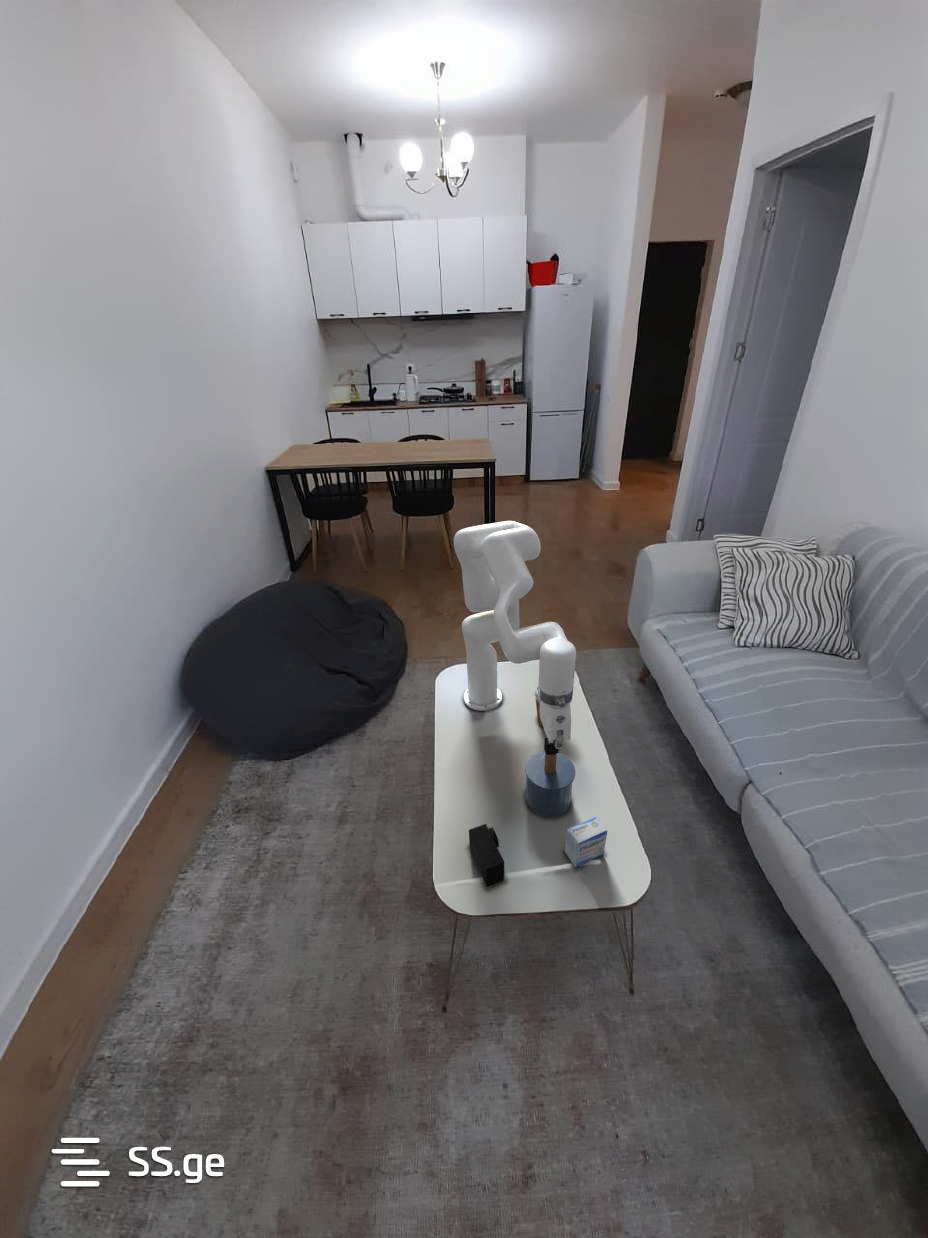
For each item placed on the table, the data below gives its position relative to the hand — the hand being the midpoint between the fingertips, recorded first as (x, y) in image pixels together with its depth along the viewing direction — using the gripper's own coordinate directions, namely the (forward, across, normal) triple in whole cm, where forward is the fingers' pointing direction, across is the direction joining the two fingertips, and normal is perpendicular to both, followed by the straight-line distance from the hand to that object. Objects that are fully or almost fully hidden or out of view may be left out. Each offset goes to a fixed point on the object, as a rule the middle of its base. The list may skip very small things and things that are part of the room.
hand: (551, 751), depth 119 cm
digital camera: (+17, -15, +18) cm, 29 cm away
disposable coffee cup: (+17, +28, -8) cm, 34 cm away
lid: (+7, 0, 0) cm, 7 cm away
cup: (+17, 0, 0) cm, 17 cm away
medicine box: (+17, -16, -4) cm, 24 cm away
